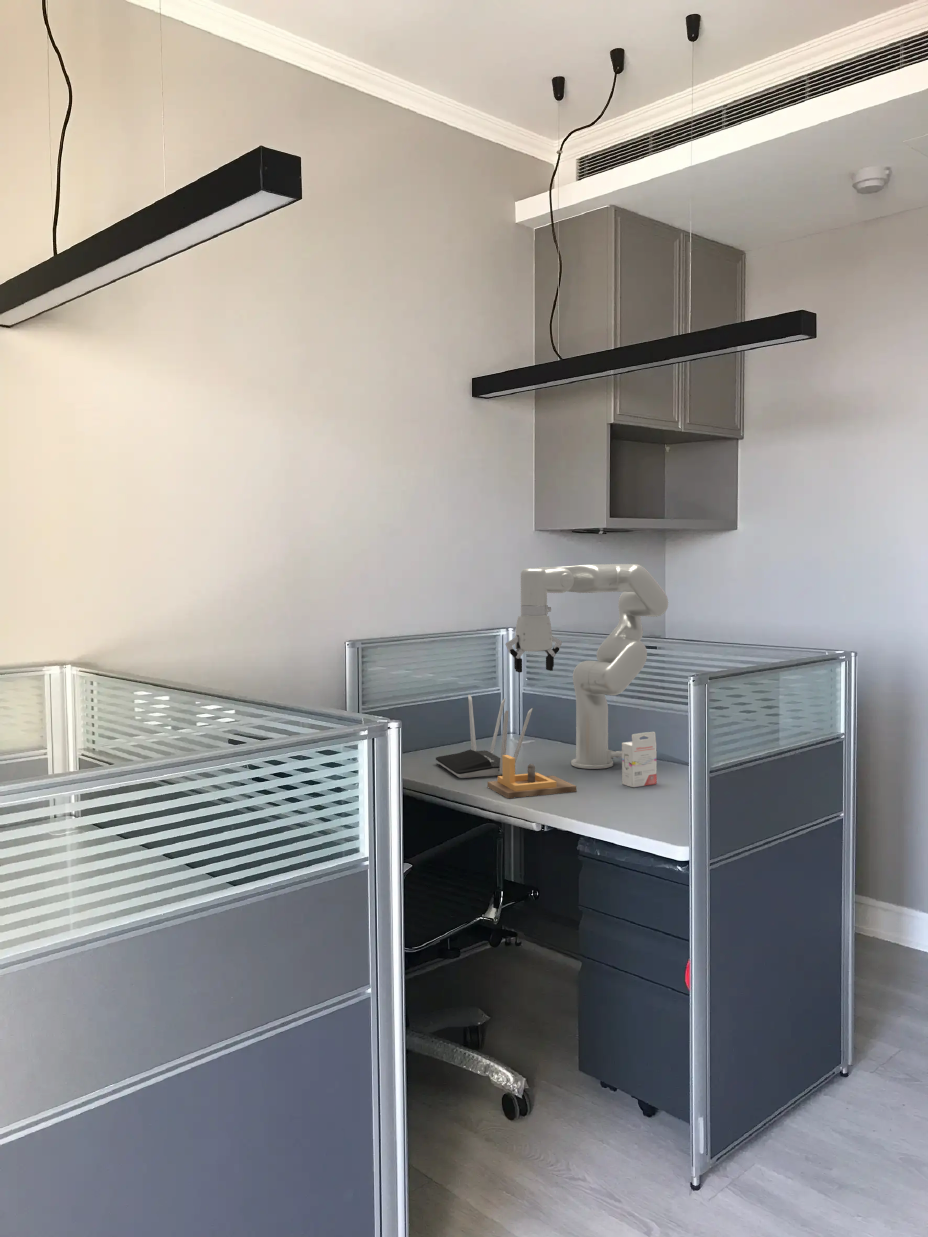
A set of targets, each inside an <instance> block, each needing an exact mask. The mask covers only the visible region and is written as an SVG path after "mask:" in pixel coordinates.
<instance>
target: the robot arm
mask: <svg viewBox="0 0 928 1237" xmlns="http://www.w3.org/2000/svg"><path fill="white" fill-rule="evenodd" d="M566 592H567V593H568V592H569V593H577V594H597V593H598V594H600V593H616V592H617V593H619V592H621V594H620V596H619V597H618V598H619V599H618V603H617V604H618V613H619V614H618V617H619V619H618V623H617V625H616V626H615V627H614V629H613V630H612V631H611V632H610V634H609V635H608V636H606V638H605V639H604V640H603V641H602V642H601V644H600V645H599V646H598V649H597V651H596V659H597V660H584V661H581V662H579V663H578V664H577V665H576V666H575V668H574V670H573V673H572V682H573V683H572V684H573V688H574V693H575V708H576V709H575V711H576V712H575V714H576V715H575V723H576V724H575V729H576V730H575V732H576V733H575V734H576V736H575V746H576V748H575V754H576V755H575V758H573V759H571V762H570V764H571V766H572V767H575V768H579V769H587V770H603V769H608V768H611V767H613V766H614V761H613V760H614V758H622V750H615V751H614V750H612V749H609V705H608V700H607V698H606V695H607V696H618V695H619V694H621V693H623V692H624V691H625V690H626V689H627V688H628V686H629V685H630V684H631V683H632V682H633V681H634V679H636V677H637V676H638V675H639V673H640V672H641V671H642V669H643V668H644V667H645V664H646V662H647V658H648V652H647V651H648V650H647V647H646V645H645V644H644V643H643V641H641V640H642V638H643V635H644V632H643V631H644V630H643V626H642V625H643V624H642V619H641V617H650V618H651V617H652V618H656V617H657V618H658V617H661V616H662V615H663V614H665V613H666V611H667V610H668V607H669V599H668V596H667V594H666V591H664V589H663V588H662V587H661V585H660V584H659V582H658V581H657V580H656V579H655V578H654V577H653V575H652V574H651V573H650V572H649V571H648V570H647V569H646V568H645V567H644V566H643V565H640V564H637V563H608V564H607V563H602V564H601V563H599V564H598V563H597V564H580V565H579V564H577V565H570V566H569V565H568V566H539V567H538V566H537V567H531V568H530V567H529V568H523V569H522V570H521V572H520V616H517V619H516V624H515V625H516V626H515V633H514V634H515V635H514V638H512V639H510V640H509V641H506V643H505V646H506V649H507V650H508V653H509V654H510V655H511V656H512V658H514V659H513V661H514V662H513V663H514V666H513V667H514V668H513V669H514V670H515V672H516V673H522V672H523V658H522V656H523V654H524V653H525V652H545V653H546V654H547V655H546V656H545V670H546V671H549V672H553V670H554V666H555V657H556V656H557V654H558V652H559V651H560V648H561V646H562V643H563V641H562V640H560V638H557V637H555V636H553V631H552V624H551V618H550V615H548V613H549V612H552V607H551V606H548V594H564V593H566ZM553 643H554V646H553ZM514 648H515V649H514ZM612 759H613V760H612Z"/></svg>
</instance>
